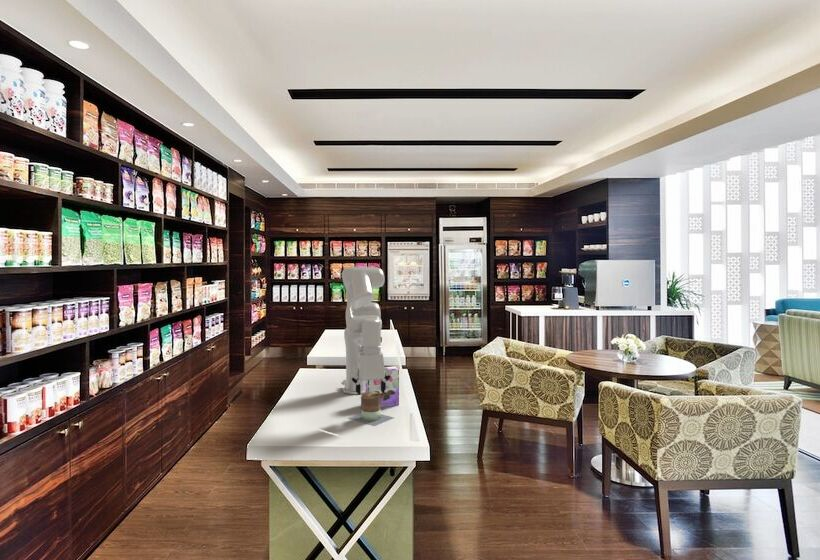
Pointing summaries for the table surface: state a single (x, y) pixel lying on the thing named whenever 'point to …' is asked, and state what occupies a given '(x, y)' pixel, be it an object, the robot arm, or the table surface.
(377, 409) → the brown short round piece
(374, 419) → the jar
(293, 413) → the table surface
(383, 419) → the mat
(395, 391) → the candy box
